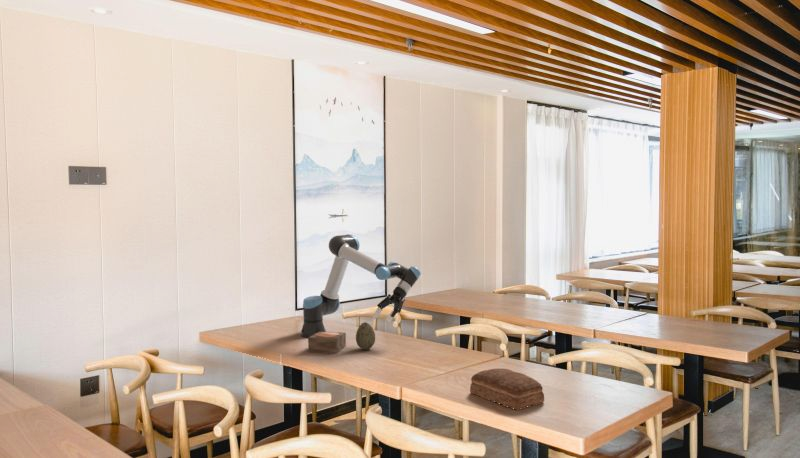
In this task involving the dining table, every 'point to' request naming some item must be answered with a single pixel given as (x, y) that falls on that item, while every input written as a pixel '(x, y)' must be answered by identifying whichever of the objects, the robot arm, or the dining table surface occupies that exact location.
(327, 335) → the pedestal
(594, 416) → the dining table surface
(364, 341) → the decorative egg
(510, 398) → the bread
